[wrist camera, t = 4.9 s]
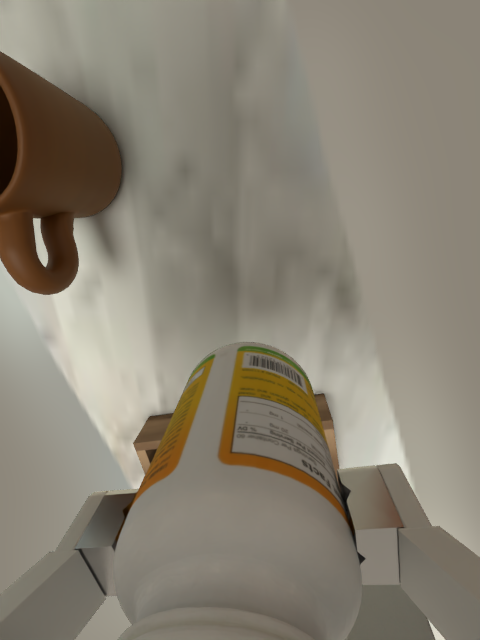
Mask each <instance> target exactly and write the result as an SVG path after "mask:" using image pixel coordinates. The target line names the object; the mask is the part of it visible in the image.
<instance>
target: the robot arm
mask: <svg viewBox="0 0 480 640" xmlns="http://www.w3.org/2000/svg"><path fill="white" fill-rule="evenodd" d="M337 478H338V483H339V487H340V490H341V495H342V499H343V502H344V506H345V509H346V512H347V516H348V519H349V523H350V526H351V529H352V533H353V537H354V541H355V545H356V550H357V554H358V558H359V563H360V568H361V574H362V585H401V588H402V589H403V590H404V591H405V592H406V594H407V595H408V596H409V597H410V598H411V600H412V601H413V602H414V603H415V604H416V605H417V607H418V608H419V609H420V610H421V611H422V612H423V614H424V615H425V616H426V617H427V618H428V619H429V621H430V622H431V623H432V624H433V625H434V627H435V628H436V629H437V630H438V631H439V632H440V634H441V635H442V636H443V637H444V638H445V639H446V640H480V557H478V556H477V555H476V554H475V553H474V552H472V551H471V550H470V549H468V548H467V547H466V546H464V545H463V544H462V543H460V542H459V541H458V540H457V539H455V538H454V537H453V536H451V535H450V534H449V533H447V532H446V531H445V530H443V529H442V528H441V527H440V526H432V525H431V524H430V522H429V520H428V518H427V516H426V514H425V513H424V510H423V509H422V507H421V505H420V503H419V501H418V499H417V497H416V496H415V494H414V492H413V490H412V488H411V486H410V484H409V483H408V481H407V479H406V477H405V475H404V473H403V471H402V470H401V468H400V466H399V465H398V464H396V463H395V464H385V465H376V466H375V465H373V466H364V467H354V468H345V469H337ZM138 490H139V489H127V490H112V491H102V492H94V493H92V494H91V495H90V496H89V497H88V498H87V500H86V501H85V503H84V505H83V506H82V508H81V510H80V511H79V513H78V514H77V516H76V518H75V519H74V521H73V522H72V524H71V526H70V528H69V529H68V531H67V532H66V534H65V535H64V537H63V539H62V540H61V542H60V544H59V545H58V547H57V548H56V550H55V551H52V552H49V553H48V554H46V555H45V556H44V557H43V558H42V559H41V560H39V561H38V562H37V563H36V564H35V565H34V566H32V567H31V568H30V569H29V570H28V571H27V572H25V573H24V574H23V575H22V576H21V577H20V578H19V579H17V580H16V581H15V582H14V583H13V584H12V585H10V586H9V587H8V588H7V589H6V590H5V591H3V592H2V593H1V594H0V640H74V639H76V637H77V636H78V635H79V633H80V632H81V631H82V629H83V628H84V627H85V625H86V624H87V623H88V621H89V620H90V619H91V618H92V616H93V615H94V614H95V612H96V611H97V610H98V609H99V607H100V606H101V605H102V603H103V602H104V601H105V599H106V597H105V596H117V594H116V590H115V584H114V577H113V563H114V554H115V549H116V545H117V542H118V538H119V535H120V533H121V530H122V528H123V526H124V523H125V520H126V518H127V515H128V513H129V511H130V508H131V506H132V504H133V502H134V499H135V497H136V495H137V493H138Z"/></svg>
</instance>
